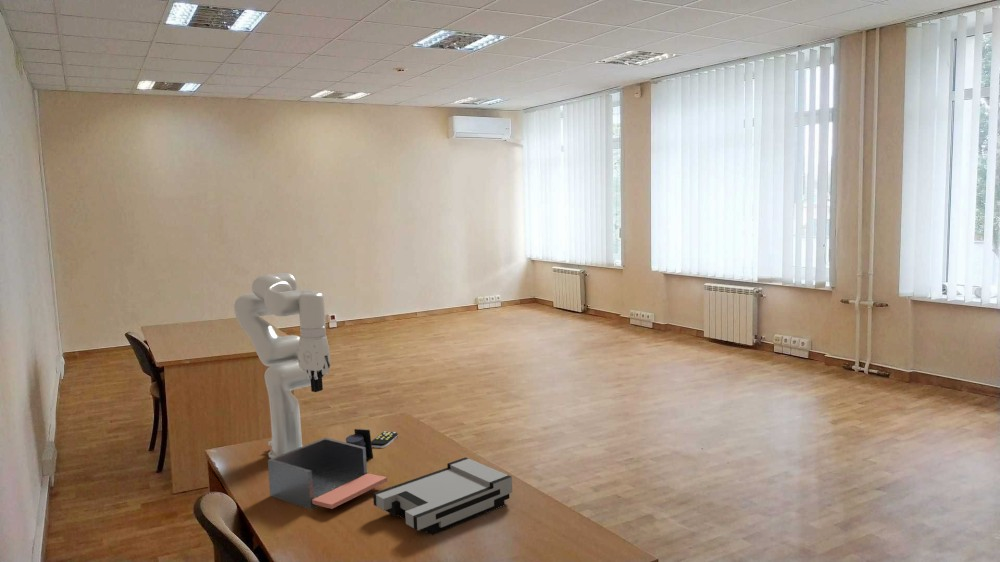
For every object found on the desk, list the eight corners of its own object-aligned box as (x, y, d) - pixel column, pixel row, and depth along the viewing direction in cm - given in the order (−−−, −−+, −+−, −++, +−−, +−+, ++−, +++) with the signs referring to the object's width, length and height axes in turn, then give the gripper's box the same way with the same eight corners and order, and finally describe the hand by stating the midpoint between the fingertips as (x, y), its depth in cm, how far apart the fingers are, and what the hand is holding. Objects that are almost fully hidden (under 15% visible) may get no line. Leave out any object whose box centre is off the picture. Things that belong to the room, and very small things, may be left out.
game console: (374, 517, 195) (372, 488, 194) (466, 483, 216) (465, 457, 215) (418, 544, 179) (416, 513, 178) (512, 504, 200) (512, 476, 199)
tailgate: (311, 499, 200) (331, 504, 195) (367, 473, 217) (386, 477, 213) (312, 503, 200) (331, 508, 195) (368, 477, 217) (387, 481, 213)
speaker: (360, 454, 241) (358, 425, 239) (373, 458, 238) (370, 429, 236) (344, 463, 235) (341, 434, 233) (357, 468, 232) (354, 438, 229)
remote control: (367, 448, 248) (367, 442, 248) (383, 435, 261) (383, 430, 260) (384, 449, 247) (384, 443, 246) (399, 436, 259) (399, 431, 259)
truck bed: (270, 496, 210) (267, 460, 209) (327, 470, 228) (325, 437, 227) (311, 510, 200) (309, 472, 199) (368, 482, 218) (366, 447, 217)
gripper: (287, 332, 221) (291, 390, 223) (320, 337, 212) (324, 397, 214) (306, 328, 227) (310, 384, 229) (339, 332, 218) (343, 391, 221)
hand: (317, 390), depth 222 cm, fingers closed
